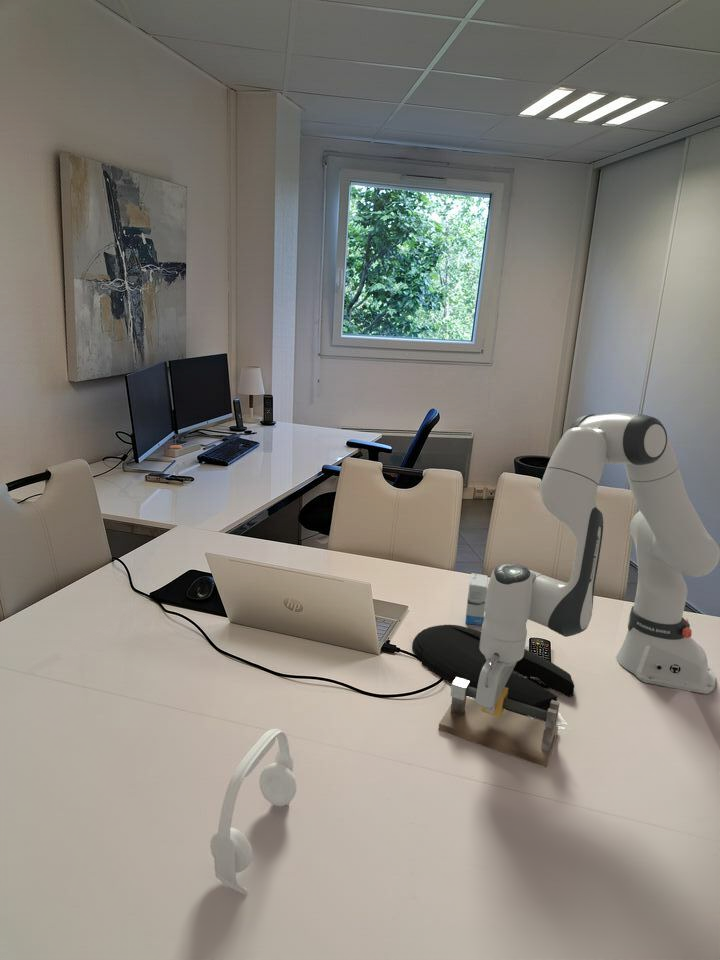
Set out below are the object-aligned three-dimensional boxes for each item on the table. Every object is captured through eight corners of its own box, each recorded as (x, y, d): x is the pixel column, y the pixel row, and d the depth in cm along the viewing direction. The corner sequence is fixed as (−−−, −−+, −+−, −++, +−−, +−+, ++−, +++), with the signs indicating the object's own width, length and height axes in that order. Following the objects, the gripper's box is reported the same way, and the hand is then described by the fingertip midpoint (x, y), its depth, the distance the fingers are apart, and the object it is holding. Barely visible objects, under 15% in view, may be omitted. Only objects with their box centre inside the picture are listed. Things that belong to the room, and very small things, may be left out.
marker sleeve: (505, 706, 137) (508, 688, 135) (500, 717, 133) (502, 698, 132) (487, 700, 138) (489, 682, 137) (481, 711, 134) (483, 692, 133)
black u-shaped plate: (447, 621, 182) (449, 605, 180) (587, 684, 156) (590, 666, 154) (389, 653, 164) (391, 635, 162) (536, 730, 138) (540, 710, 136)
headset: (266, 793, 116) (269, 705, 111) (303, 805, 113) (307, 716, 109) (202, 882, 98) (201, 783, 93) (244, 900, 95) (245, 798, 90)
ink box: (482, 626, 179) (487, 587, 176) (464, 623, 180) (469, 584, 177) (483, 612, 188) (488, 574, 184) (466, 610, 188) (470, 572, 185)
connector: (466, 709, 140) (470, 681, 138) (462, 717, 137) (465, 688, 136) (453, 705, 141) (456, 676, 139) (448, 712, 139) (451, 683, 137)
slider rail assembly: (557, 732, 137) (564, 692, 134) (546, 767, 126) (553, 724, 124) (456, 699, 146) (461, 661, 143) (438, 729, 135) (442, 689, 133)
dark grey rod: (556, 722, 132) (558, 706, 131) (552, 732, 129) (555, 716, 128) (468, 693, 139) (470, 679, 138) (463, 702, 136) (465, 687, 135)
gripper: (504, 673, 121) (495, 736, 125) (529, 626, 139) (520, 684, 143) (471, 663, 124) (464, 725, 127) (499, 619, 141) (492, 675, 145)
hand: (494, 703), depth 135 cm, fingers closed on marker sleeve, 4 cm apart
